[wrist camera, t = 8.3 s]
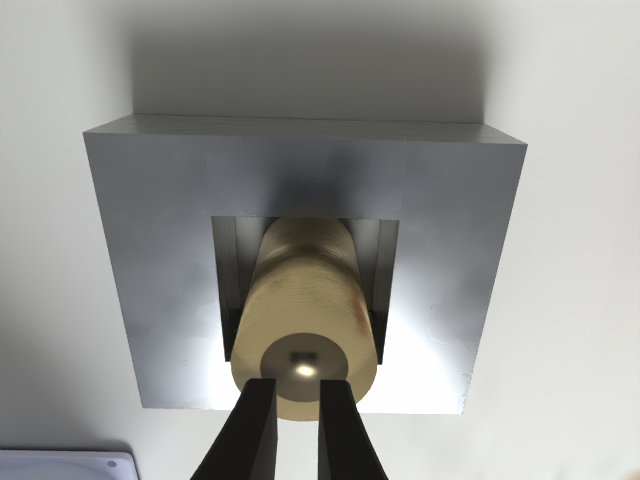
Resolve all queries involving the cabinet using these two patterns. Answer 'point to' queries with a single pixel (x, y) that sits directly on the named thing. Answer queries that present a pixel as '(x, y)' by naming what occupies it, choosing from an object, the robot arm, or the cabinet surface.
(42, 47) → the cabinet surface
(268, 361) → the bushing
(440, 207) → the block
